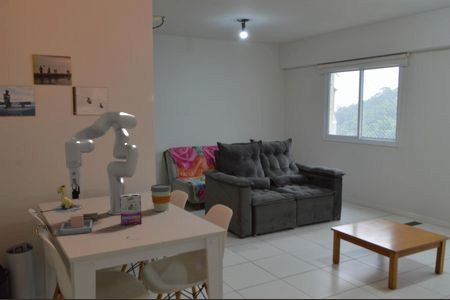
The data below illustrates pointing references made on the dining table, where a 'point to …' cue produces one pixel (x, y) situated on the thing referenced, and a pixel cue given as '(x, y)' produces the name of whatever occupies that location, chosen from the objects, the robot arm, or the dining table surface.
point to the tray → (67, 228)
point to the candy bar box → (130, 209)
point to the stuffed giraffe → (65, 202)
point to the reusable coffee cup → (161, 196)
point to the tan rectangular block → (77, 221)
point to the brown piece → (90, 216)
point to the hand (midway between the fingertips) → (76, 196)
